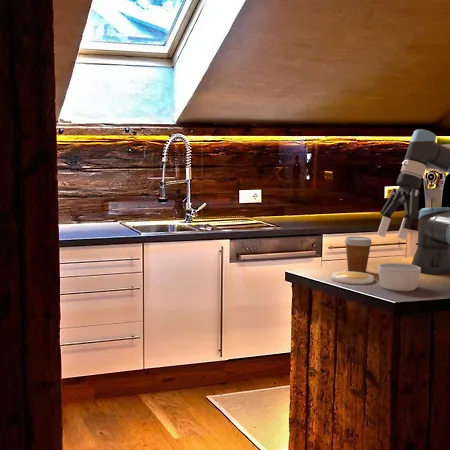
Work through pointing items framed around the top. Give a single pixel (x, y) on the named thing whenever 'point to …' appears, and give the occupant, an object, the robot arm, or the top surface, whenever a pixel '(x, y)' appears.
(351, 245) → the disposable coffee cup
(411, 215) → the robot arm
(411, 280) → the ramekin
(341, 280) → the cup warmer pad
